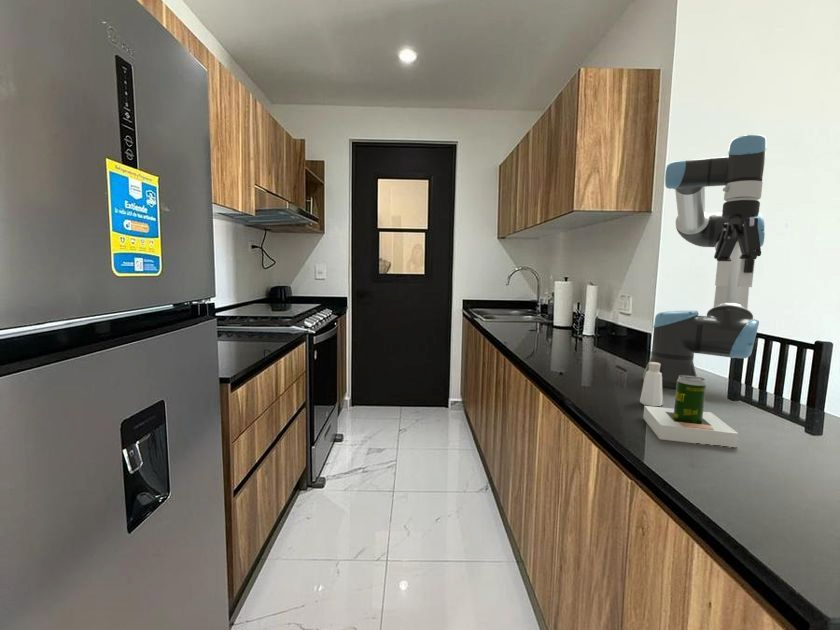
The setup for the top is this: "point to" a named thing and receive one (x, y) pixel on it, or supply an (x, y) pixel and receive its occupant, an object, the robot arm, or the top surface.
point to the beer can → (689, 399)
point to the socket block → (690, 428)
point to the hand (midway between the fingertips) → (732, 286)
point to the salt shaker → (652, 386)
